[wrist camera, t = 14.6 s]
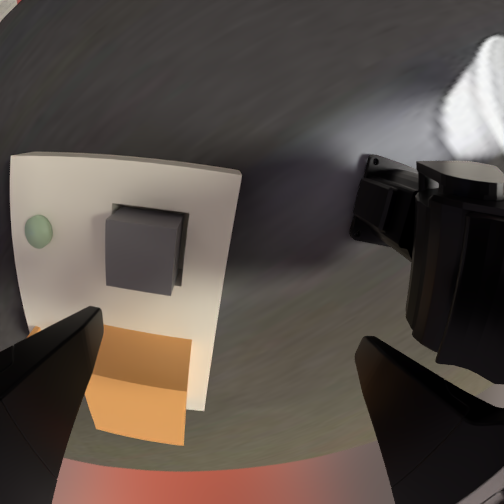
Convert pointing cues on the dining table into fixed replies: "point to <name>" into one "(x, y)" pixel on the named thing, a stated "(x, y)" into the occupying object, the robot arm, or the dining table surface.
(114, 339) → the orange square block
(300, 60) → the dining table surface
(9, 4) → the ink cartridge box
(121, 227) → the block
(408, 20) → the dining table surface
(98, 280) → the panel
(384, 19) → the dining table surface
